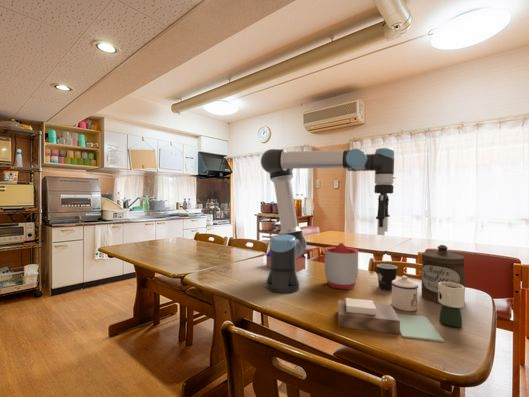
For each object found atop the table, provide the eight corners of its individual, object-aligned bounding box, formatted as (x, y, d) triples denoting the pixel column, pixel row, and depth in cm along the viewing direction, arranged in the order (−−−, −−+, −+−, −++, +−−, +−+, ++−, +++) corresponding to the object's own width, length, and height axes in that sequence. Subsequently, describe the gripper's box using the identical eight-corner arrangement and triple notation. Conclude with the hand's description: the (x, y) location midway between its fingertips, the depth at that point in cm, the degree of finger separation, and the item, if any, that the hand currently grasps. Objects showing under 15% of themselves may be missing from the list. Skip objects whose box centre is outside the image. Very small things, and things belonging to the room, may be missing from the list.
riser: (338, 326, 88) (338, 314, 88) (337, 311, 99) (338, 300, 99) (399, 333, 83) (399, 320, 83) (391, 316, 95) (391, 305, 95)
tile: (346, 311, 90) (346, 305, 90) (345, 303, 96) (345, 298, 96) (375, 314, 87) (375, 308, 87) (372, 306, 94) (372, 300, 94)
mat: (402, 337, 81) (402, 335, 81) (391, 314, 97) (391, 313, 97) (444, 342, 79) (444, 340, 79) (425, 318, 94) (425, 316, 94)
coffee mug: (399, 292, 120) (399, 269, 120) (378, 290, 121) (378, 268, 121) (392, 283, 131) (392, 262, 131) (373, 282, 133) (373, 261, 133)
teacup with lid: (417, 314, 98) (417, 281, 97) (389, 308, 102) (389, 277, 102) (419, 302, 108) (419, 273, 108) (393, 298, 113) (394, 269, 112)
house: (294, 273, 148) (294, 252, 147) (265, 267, 161) (266, 247, 160) (306, 269, 157) (306, 248, 156) (278, 263, 170) (278, 244, 170)
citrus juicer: (357, 280, 135) (357, 240, 135) (359, 292, 119) (360, 246, 118) (324, 278, 139) (325, 238, 139) (323, 289, 123) (323, 244, 122)
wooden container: (416, 298, 113) (417, 245, 112) (427, 289, 123) (427, 240, 123) (460, 309, 102) (461, 250, 102) (467, 298, 113) (468, 245, 112)
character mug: (439, 315, 96) (440, 278, 96) (464, 321, 92) (465, 283, 92) (435, 327, 88) (435, 286, 88) (462, 334, 83) (463, 291, 83)
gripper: (391, 183, 106) (389, 237, 107) (395, 185, 128) (394, 230, 128) (370, 183, 110) (369, 235, 110) (378, 185, 132) (376, 229, 132)
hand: (382, 233), depth 119 cm, fingers open, 13 cm apart
